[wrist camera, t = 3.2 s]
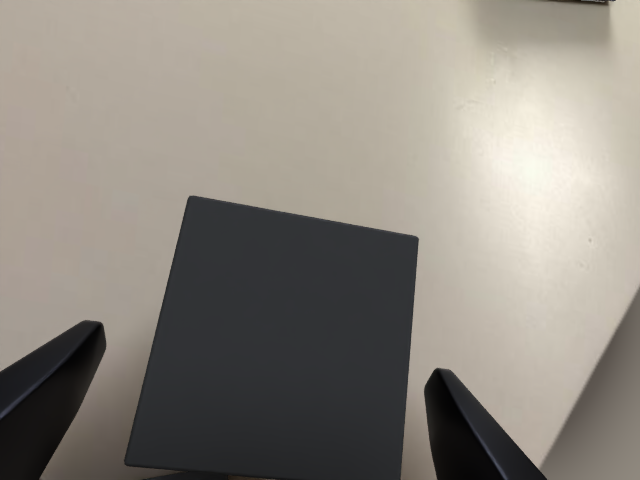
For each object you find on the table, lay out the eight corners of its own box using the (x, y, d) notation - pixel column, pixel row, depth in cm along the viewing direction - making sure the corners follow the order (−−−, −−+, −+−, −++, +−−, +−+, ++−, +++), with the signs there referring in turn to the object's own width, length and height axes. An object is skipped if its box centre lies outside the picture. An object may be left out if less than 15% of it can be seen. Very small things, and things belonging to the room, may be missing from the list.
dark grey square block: (309, 376, 17) (400, 492, 6) (218, 365, 17) (120, 467, 5) (322, 286, 19) (420, 235, 7) (236, 273, 18) (187, 192, 6)
